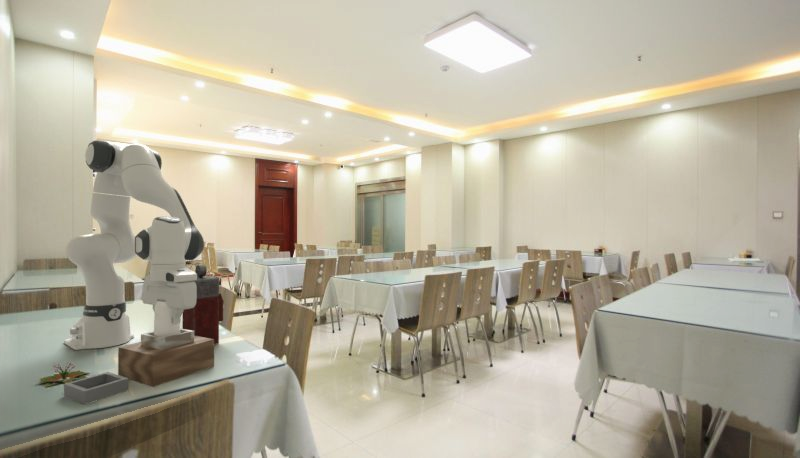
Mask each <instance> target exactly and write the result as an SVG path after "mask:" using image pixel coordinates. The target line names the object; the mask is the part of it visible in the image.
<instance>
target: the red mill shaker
mask: <svg viewBox="0 0 800 458" xmlns="http://www.w3.org/2000/svg"><path fill="white" fill-rule="evenodd" d="M195 266H196V267H195V271H194V272H195V273H196V274H197V280H195V281H194V282H195V283H196V287H197V299H196V305H195V306H194V308H190V309H184V311H183V313H182V328H181V329H186V330H192V331H194V336H199V337H205V338H210V339H214V345H218V344H219V343H220V342H219V341H220V322H223V321H224V299H223V297H222V296H223V295H222V293H220V279H219V278H218V277H214V276H210V275H209V276H207V273H208V270H207V269H208V268H207V266H206V265H205V264H197V265H195Z"/></svg>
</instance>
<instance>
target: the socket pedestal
mask: <svg viewBox="0 0 800 458" xmlns="http://www.w3.org/2000/svg"><path fill="white" fill-rule="evenodd" d="M117 349H118V350H117V352H118V353H117V358H118V359H117V362H118V363H117V375H120V376H123V377H126V378H129V381H132V382H135V383H140V384H143V385H144V386H149V387H152V388H153V387H156V386H159V385H162V384H166V383H169V382H172V381H174V380H178V379H180V378H183V377H187V376H190V375H193V374H196V373H198V372H202V371H204V370H208V369H210V368H213V367H215V344H214V339H210V338H205V337H199V336H194V331H192V330H186V329H182V328H181V327H180V333H179V334H175V335H171V336H166V337H159V336H154V331H150V332H145V333H144V332H143V333H141V334H140V341H139V342H135V343H134V342H133V343H131V344H126V345H121V346H118V348H117Z"/></svg>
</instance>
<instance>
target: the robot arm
mask: <svg viewBox="0 0 800 458" xmlns="http://www.w3.org/2000/svg"><path fill="white" fill-rule="evenodd" d="M84 156H85V163H86V165H87V166H88V168H89V169H90V170H93V171H95V172H96V176H95V179H94V182H93V187H92V196H91V205H90V216H91V217H92V218H93V220H95V221H96V222H97V223H98V225H99V229H100V233H85V234H81V235H78V236H74V237H72V238H70V240H68V242H67V245H66V247H65V248H66V249H65V252H66V253H65V254H66V256H67V258H68V260H69V261H70V262H71V263H72V264H74V265H75V266H77V268H78V269H79V270H80V272H81V274H82V276H83V279H84V282H85V294H86V295H85V298H86V299H85V302H86V304H85V305H83V310H82V311H83V313H82V315H83V316H82V317H80V319H79V320H78V321H77V322H76V323H74V325H73V326H72V327H71V328H70V330H69V333H70V335H71V336H72V337H69V338H67V339H64V340H63V343H64V344H65V345H66V346H68V347H69V348H71V349H72V350H74V351H77V350H89V349H92V350H93V349H102V348H110V347H114V346H119V345H122V344H125V343H129V342H130V340H131V339H133V338H135V335H134V334H133V333H131V323H130V316H129V315H127V314H126V311H127V302H126V301H125V288H126V287H125V283H126V282H125V280H124V279H123V277H121V276H119V275H118V273H117V271H115V270H116V269H115V267H114V265H115V264H121V263H125V262H126V263H127V262H129V261H131V260H134V259H136V258H137V257H139V258H140V259H142V260H145V261H150V265H149V266H150V267H149V272H148V273H147V275H145V279H144V281H143V284H142V288H141V289H142V290H141V301H142V303H143V304H146V305H152V310H153V312H154V314H155V304H156V303H157V299H158V300H159V301H166V305H167V306H168V307H170V308H173V311H174V312H175V313H174V316H173V317H171V320H172V321H171V323H173V324H178V323H180V324H181V317H182V316H183V311H184V309H190V308H194V306H195V305H196V299H197V287H196V283H195V282H194V281H195V280H197V274H196V273H195V271H193V270H191V269H190V268H189V267H188V266H186V264H187V263H186V262H187V261H193V260H195V259H197V258H198V257H199V256H200V255H201V254H202V253H203V251H204V247H205V240H204V237H203V235H202V233H201V232H200V230H199V229H198V228H197V227H196V225H195V224H194V223H195V222H194V221H193V218H192V217H191V215H190V212H189V211H188V208H187V207H186V205H185V202H184V201H183V199H182V196H181V195H180V193H179V192H178V190H177V189H176V188H174V187H172V186H171V185H170V184H169V183H168V182H167V180H166V179H165V178H164V177H163V174H162V171H161V169H162V164H163V161H162V157H161V155H160V154H159V152H158V151H155V150H152V149H151V148H149V147H148V146H146V145H144V144H141V143H132V144H130V143H122V142H113V141H107V140H99V139H98V140H93V141H91V142H90V143H88V146H87V148H86V150H85V154H84ZM131 198H132V199H134V200H136V201H139V202H141V203H145V204H149V205H151V206H154V207H157V208H159V209H162V210H164V211H165V212H166V213H168V214H169V215H170V216H158V217H157V216H156V217H154V218H153V220H152V222H151V225H150V227H148V228H146V229H145V228H144V229H142V230H141V231H139V232H138V233H137V234H136V235H134V233H133V230H132V228H131V224H130V223H131V222H130V206H131V205H130V204H131Z"/></svg>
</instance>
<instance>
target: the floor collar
mask: <svg viewBox="0 0 800 458" xmlns="http://www.w3.org/2000/svg"><path fill="white" fill-rule="evenodd" d="M86 377H87V376H86ZM129 381H130V380H129V378H126V377H123V376H120V375H118V374H116V373H113V372H109V371H106V372H102V373H99V374H96V375H92V376H91V375H90V376H88V377H87V378H84V379H80V378H79V379H76V380H72V381H71V382H69V383H63V397H65V398H67V399H69V400H73V401H74V402H76V403H79V404H82V405H87V404H90V403H93V402H96V400H97V401H99V400H103V399H106V398H109V397H113V396H114V395H118V394H121V393H125V392H127V390H128V391H129V390H130V389H129V383H130V382H129Z"/></svg>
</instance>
